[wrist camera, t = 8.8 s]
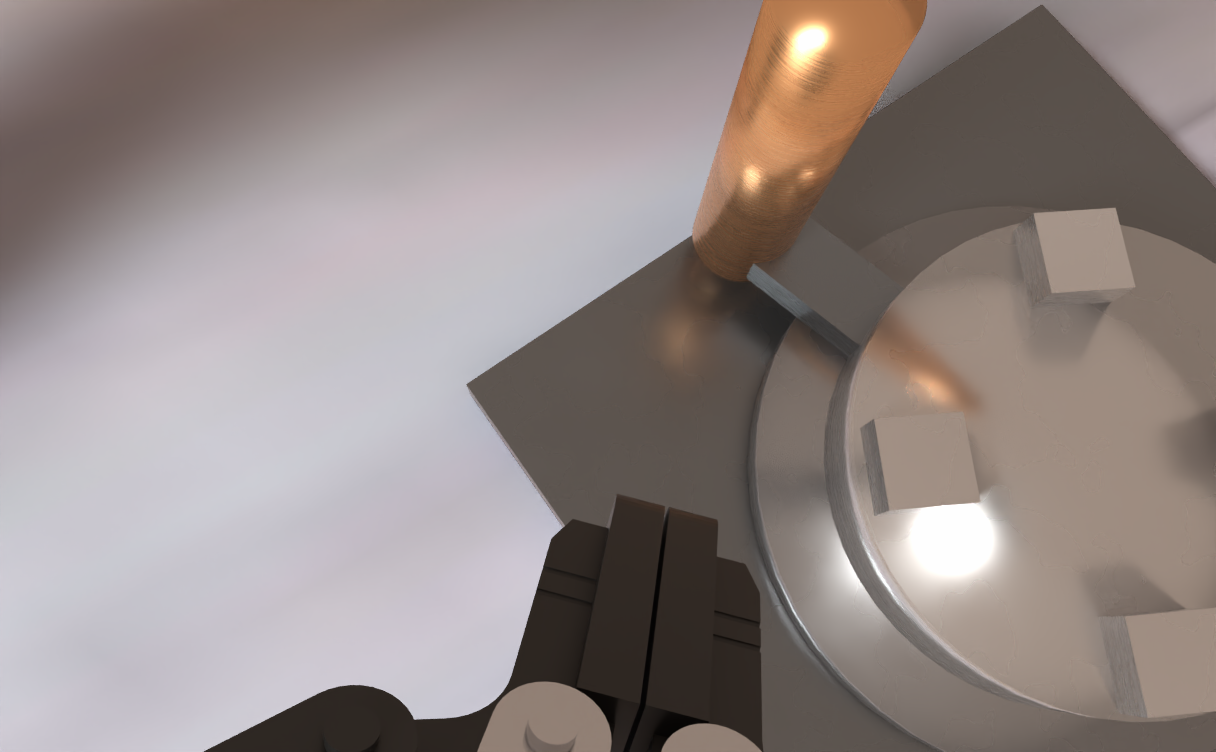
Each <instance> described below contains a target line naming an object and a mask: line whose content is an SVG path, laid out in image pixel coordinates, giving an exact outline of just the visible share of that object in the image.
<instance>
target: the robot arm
mask: <svg viewBox="0 0 1216 752" xmlns="http://www.w3.org/2000/svg"><path fill="white" fill-rule="evenodd" d="M664 515H665V516H664ZM717 541H718V520H717V519H713V518H709V517H706V516H702V515H698V514H694V513H690V512H686V511H683V510H679V509H675V508H671V507H668V509H667V511H666V513H665V506H663V505H659V504H655V503H651V502H647V501H644V500H640V499H636V498H632V497H628V496H624V495H621V494H616V496H615V500H614V503H613V506H612V510H611V513H610V517H609V520H608V524H607V527H602V526H598V525H594V524H591V523H587V522H583V521H579V520H575V519H572V520H571V521H570V522H569V523H568V524H567V525H565V526H564V527H563V528H562V529H561V530H560V531H559V532H558V533H557V534H556V535H555V536H554V537H553V538H552V539H551V542H550V546H549V549H548V552H547V556H546V559H545V563H544V566H543V570H542V573H541V576H540V580H539V583H538V587H537V590H536V594H535V597H534V600H533V604H532V607H531V611H530V614H529V618H528V621H527V624H526V628H525V631H524V635H523V638H522V642H521V645H520V648H519V652H518V655H517V659H516V662H515V666H514V669H513V673H512V676H511V678H510V681H509V683H508V685H507V686H506V688H505V690H504V691H503V692H502V693H501V695H500V696H499V697H498V698H497V699H496V700H495V701H493V702H492V703H491V704H489V705H488V706H486V707H485V708H483V709H481V710H479V711H477V712H474V713H472V714H469V715H465V716H461V717H456V718H446V719H420V720H414V719H413V716H412V715H411V713H410V712H409V710H408V709H407V707H406V706H405V705H404V704H403V703H402V702H401V701H400V700H398V699H397V698H396V697H394V696H393V695H391V694H389V693H387V692H385V691H383V690H380V689H377V688H374V687H369V686H362V685H348V686H340V687H336V688H332V689H328V690H326V691H323V692H321V693H319V694H317V695H315V696H313V697H311V698H309V699H307V700H305V701H303V702H301V703H299V704H297V705H295V706H293V707H291V708H289V709H287V710H285V711H283V712H281V713H279V714H277V715H275V716H273V717H271V718H269V719H267V720H265V721H263V722H261V723H259V724H257V725H255V726H253V727H251V728H249V729H247V730H245V731H243V732H241V733H239V734H238V735H236V736H234V737H232V738H230V739H228V740H226V741H224V742H222V743H220V744H218V745H216V746H214V747H212V748H210V749H208V750H206V751H204V752H764V751H763V742H762V683H761V652H760V648H761V628H759V627H760V623H761V616H760V592H759V590H758V588H757V586H756V584H755V582H754V580H753V578H752V576H751V574H750V572H749V570H748V568H747V566H746V564H744V563H740V562H736V561H733V560H729V559H725V558H721V557H717Z"/></svg>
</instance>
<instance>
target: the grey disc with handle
mask: <svg viewBox="0 0 1216 752" xmlns="http://www.w3.org/2000/svg"><path fill="white" fill-rule="evenodd" d="M926 9H927V0H763V3H762V7H761V10H760V13H759V16H758V19H757V23H756V26H755V29H754V32H753V35H752V39H751V42H750V45H749V48H748V51H747V55H746V58H745V61H744V64H743V68H742V71H741V74H740V77H739V80H738V84H737V87H736V90H735V93H734V96H733V100H732V103H731V106H730V109H729V113H728V116H727V119H726V122H725V125H724V129H723V132H722V135H721V138H720V141H719V145H718V148H717V151H716V154H715V158H714V161H713V164H712V167H711V170H710V174H709V177H708V180H707V183H706V186H705V190H704V193H703V196H702V199H701V202H700V206H699V209H698V212H697V215H696V219H695V222H694V226H693V233H692V236H693V244H694V248H695V251H696V253H697V255H698V257H699V258H700V260H701V261H702V263H703V264H704V265H705V266H706V267H707V268H708V269H709V270H710V271H711V272H713V273H714V274H716V275H718V276H720V277H721V278H724V279H727V280H730V281H734V282H752V283H754V284H755V285H756V286H757V287H759V288H760V289H761V290H763V291H764V292H765V293H766V294H768V295H769V296H770V297H772V298H773V299H774V300H775V301H777V302H778V303H779V304H780V305H782V306H783V307H784V308H786V309H787V310H788V311H789V312H791V313H792V314H793V315H795V316H796V317H797V318H798V319H800V320H801V321H802V322H804V323H805V324H806V325H807V326H809V327H810V328H811V329H813V330H814V331H815V332H816V333H818V334H819V335H820V336H822V337H823V338H824V339H825V340H827V341H828V342H829V343H830V344H832V345H833V346H834V347H836V348H837V349H838V350H839V351H841V352H842V353H843V354H845V355H846V356H847V359H846V361H845V363H844V365H843V367H842V369H841V371H840V373H839V376H838V379H837V382H836V385H835V388H834V391H833V394H832V397H831V400H830V405H829V410H828V415H827V421H826V426H825V439H824V469H825V481H826V490H827V495H828V499H829V504H830V509H831V513H832V518H833V521H834V524H835V527H836V529H837V532H838V535H839V538H840V541H841V544H842V547H843V549H844V551H845V553H846V555H847V557H848V559H849V561H850V563H851V565H852V567H853V569H854V571H855V573H856V575H857V577H858V579H859V580H860V582H861V583H862V585H863V586H864V588H865V589H866V591H867V592H868V594H869V596H870V597H871V599H872V600H873V602H874V603H875V605H876V606H877V607H878V608H879V609H880V611H881V612H882V613H883V614H884V615H885V616H886V618H887V619H888V620H889V621H890V622H891V624H892V625H893V626H894V627H895V628H896V630H898V631H899V632H900V633H901V634H902V635H903V636H904V637H905V638H906V639H907V640H908V641H909V642H910V643H911V644H913V645H914V646H915V647H916V648H917V649H918V650H919V651H920V652H921V653H923V654H924V655H925V656H927V657H928V658H929V659H931V660H932V661H934V662H935V663H936V664H938V665H939V666H940V667H942V668H943V669H945V670H946V671H947V672H949V673H951V674H953V675H954V676H956V677H958V678H960V679H962V680H963V681H965V682H967V683H969V684H971V685H972V686H974V687H976V688H978V689H981V690H983V691H986V692H988V693H991V694H993V695H996V696H998V697H1001V698H1004V699H1006V700H1009V701H1013V702H1017V703H1021V704H1025V705H1029V706H1033V707H1037V708H1042V709H1048V710H1053V711H1059V712H1064V713H1070V714H1076V715H1081V716H1087V717H1093V718H1099V719H1108V720H1117V721H1126V722H1158V721H1171V720H1177V719H1183V718H1188V717H1194V716H1200V715H1203V714H1206V713H1209V712H1213V711H1216V264H1214V263H1213V262H1211V261H1210V260H1208V259H1207V258H1205V257H1203V256H1202V255H1200V254H1198V253H1196V252H1194V251H1192V250H1190V249H1188V248H1186V247H1184V246H1182V245H1180V244H1178V243H1176V242H1174V241H1172V240H1169V239H1166V238H1163V237H1161V236H1158V235H1155V234H1152V233H1149V232H1147V231H1144V230H1141V229H1137V228H1132V227H1128V226H1124V225H1120V223H1119V219H1118V215H1117V212H1116V208H1104V209H1089V210H1073V211H1058V212H1042V213H1033V214H1032V215H1031V216H1030V217H1029V218H1027V219H1026V220H1025V221H1024V222H1023V223H1018V224H1015V225H1011V226H1007V227H1003V228H1000V229H996V230H992V231H990V232H988V233H985V234H983V235H980V236H978V237H976V238H973V239H971V240H968V241H966V242H964V243H963V244H961V245H959V246H958V247H956V248H954V249H952V250H951V251H949V252H947V253H946V254H944V255H942V256H941V257H940V258H938V259H937V260H936V261H935V262H933V263H932V264H931V265H930V266H928V267H927V268H926V269H925V270H923V271H922V272H921V273H920V274H919V275H918V276H917V277H916V278H915V279H914V280H913V281H912V282H911V283H910V284H909V285H908V286H907V287H906V288H905V289H904V288H903V287H901V286H900V285H899V284H898V283H896V282H895V281H894V280H892V279H891V278H890V277H888V276H887V275H886V274H884V273H883V272H882V271H880V270H879V269H878V268H876V267H875V266H874V265H872V264H871V263H870V262H869V261H867V260H866V259H865V258H863V257H862V256H861V255H859V254H858V253H857V252H855V251H854V250H853V249H851V248H850V247H849V246H847V245H846V244H845V243H843V242H842V241H841V240H840V239H838V238H837V237H836V236H834V235H833V234H832V233H830V232H829V231H828V230H826V229H825V228H824V227H822V226H821V225H820V224H818V223H817V222H816V221H815V220H813V219H812V218H811V217H810V215H811V213H812V212H813V210H814V208H815V206H816V205H817V203H818V201H819V200H820V198H821V196H822V195H823V193H824V191H825V189H826V188H827V186H828V184H829V183H830V181H831V179H832V178H833V176H834V174H835V172H836V171H837V169H838V167H839V166H840V164H841V162H842V161H843V159H844V157H845V155H846V154H847V152H848V150H849V149H850V147H851V145H852V144H853V142H854V140H855V139H856V137H857V135H858V133H859V132H860V130H861V128H862V127H863V125H864V123H865V122H866V120H867V118H868V116H869V115H870V113H871V111H872V110H873V108H874V106H875V105H876V103H877V101H878V99H879V98H880V96H881V94H882V93H883V91H884V89H885V88H886V86H887V84H888V82H889V81H890V79H891V77H892V76H893V74H894V72H895V71H896V69H897V67H898V66H899V64H900V62H901V60H902V59H903V57H904V55H905V54H906V52H907V50H908V49H909V47H910V45H911V43H912V42H913V40H914V38H915V37H916V35H917V33H918V32H919V30H920V28H921V26H922V24H923V21H924V18H925V15H926Z"/></svg>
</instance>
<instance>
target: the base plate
mask: <svg viewBox="0 0 1216 752" xmlns="http://www.w3.org/2000/svg"><path fill="white" fill-rule="evenodd" d="M1104 208H1116V212H1117V215H1118V219H1119V223H1120V225H1124V226H1128V227H1132V228H1137V229H1141V230H1144V231H1147V232H1149V233H1152V234H1155V235H1158V236H1161V237H1163V238H1166V239H1169V240H1172V241H1174V242H1176V243H1178V244H1180V245H1182V246H1184V247H1186V248H1188V249H1190V250H1192V251H1194V252H1196V253H1198V254H1200V255H1202V256H1203V257H1205V258H1207V259H1208V260H1210V261H1211V262H1213V263H1214V264H1216V188H1215V187H1214V186H1213V185H1212V184H1211V183H1210V182H1209V181H1208V180H1207V179H1206V178H1205V177H1204V176H1203V175H1202V174H1201V172H1200V171H1199V170H1198V169H1197V168H1196V167H1195V166H1194V165H1193V164H1192V163H1191V162H1190V161H1189V160H1188V159H1187V158H1186V157H1185V155H1184V154H1183V153H1182V152H1181V151H1180V150H1179V149H1178V148H1177V147H1176V146H1175V145H1174V144H1173V143H1172V142H1171V141H1170V140H1169V139H1168V137H1167V136H1166V135H1165V134H1164V133H1163V132H1162V131H1161V130H1160V129H1159V128H1158V127H1157V126H1156V125H1155V124H1154V123H1153V122H1152V121H1151V119H1150V118H1149V117H1148V116H1147V115H1146V114H1145V113H1144V112H1143V111H1142V110H1141V109H1140V108H1139V107H1138V106H1137V105H1136V104H1135V103H1134V101H1133V100H1132V99H1131V98H1130V97H1129V96H1128V95H1127V94H1126V93H1125V92H1124V91H1123V90H1122V89H1121V88H1120V87H1119V86H1118V84H1117V83H1116V82H1115V81H1114V80H1113V79H1112V78H1111V77H1110V76H1109V75H1108V74H1107V73H1106V72H1105V71H1104V70H1103V69H1102V68H1101V66H1100V65H1099V64H1098V63H1097V62H1096V61H1095V60H1094V59H1093V58H1092V57H1091V56H1090V55H1089V54H1088V53H1087V52H1086V51H1085V50H1084V48H1083V47H1082V46H1081V45H1080V44H1079V43H1078V42H1077V41H1076V40H1075V39H1074V38H1073V37H1072V36H1071V35H1070V34H1069V33H1068V32H1067V30H1066V29H1065V28H1064V27H1063V26H1062V25H1061V24H1060V23H1059V22H1058V21H1057V20H1056V19H1055V18H1054V17H1053V16H1052V15H1051V13H1050V12H1049V11H1048V10H1047V9H1046V8H1045V7H1044V6H1043V5H1040V6H1039V7H1037V8H1036V9H1034V10H1033V11H1031V12H1030V13H1028V14H1027V15H1025V16H1024V17H1022V18H1021V19H1019V20H1018V21H1016V22H1015V23H1013V24H1011V25H1010V26H1008V27H1007V28H1005V29H1004V30H1002V31H1001V32H999V33H998V34H996V35H995V36H993V37H992V38H990V39H989V40H987V41H986V42H984V43H983V44H981V45H980V46H978V47H977V48H975V49H974V50H972V51H971V52H969V53H968V54H966V55H965V56H963V57H961V58H960V59H958V60H957V61H955V62H954V63H952V64H951V65H949V66H948V67H946V68H945V69H943V70H942V71H940V72H939V73H937V74H936V75H934V76H933V77H931V78H930V79H928V80H927V81H925V82H924V83H922V84H921V85H919V86H918V87H916V88H915V89H913V90H911V91H910V92H908V93H907V94H905V95H904V96H902V97H901V98H899V99H898V100H896V101H895V102H893V103H892V104H890V105H889V106H887V107H886V108H884V109H883V110H881V111H880V112H878V113H877V114H875V115H874V116H872V117H871V118H869V119H868V120H866V122H865V123H864V125H863V127H862V128H861V130H860V132H859V133H858V135H857V137H856V139H855V140H854V142H853V144H852V145H851V147H850V149H849V150H848V152H847V154H846V155H845V157H844V159H843V161H842V162H841V164H840V166H839V167H838V169H837V171H836V172H835V174H834V176H833V178H832V179H831V181H830V183H829V184H828V186H827V188H826V189H825V191H824V193H823V195H822V196H821V198H820V200H819V201H818V203H817V205H816V206H815V208H814V210H813V212H812V213H811V215H810V217H811V218H812V219H813V220H815V221H816V222H817V223H818V224H820V225H821V226H822V227H824V228H825V229H826V230H828V231H829V232H830V233H832V234H833V235H834V236H836V237H837V238H838V239H840V240H841V241H842V242H843V243H845V244H846V245H847V246H849V247H850V248H851V249H853V250H854V251H855V252H857V253H858V254H859V255H861V256H862V257H863V258H865V259H866V260H867V261H869V262H870V263H871V264H872V265H874V266H875V267H876V268H878V269H879V270H880V271H882V272H883V273H884V274H886V275H887V276H888V277H890V278H891V279H892V280H894V281H895V282H896V283H898V284H899V285H900V286H901V287H903V288H904V289H905V288H906V287H907V286H908V285H909V284H910V283H911V282H912V281H913V280H914V279H915V278H916V277H917V276H918V275H919V274H920V273H921V272H922V271H923V270H925V269H926V268H927V267H928V266H930V265H931V264H932V263H933V262H935V261H936V260H937V259H938V258H940V257H941V256H942V255H944V254H946V253H947V252H949V251H951V250H952V249H954V248H956V247H958V246H959V245H961V244H963V243H964V242H966V241H968V240H971V239H973V238H976V237H978V236H980V235H983V234H985V233H988V232H990V231H992V230H996V229H1000V228H1003V227H1007V226H1011V225H1015V224H1018V223H1023V222H1024V221H1025V220H1026V219H1027V218H1029V217H1030V216H1031V215H1032V214H1033V213H1042V212H1058V211H1073V210H1089V209H1104ZM846 359H847V356H846V355H845V354H843V353H842V352H841V351H839V350H838V349H837V348H836V347H834V346H833V345H832V344H830V343H829V342H828V341H827V340H825V339H824V338H823V337H822V336H820V335H819V334H818V333H816V332H815V331H814V330H813V329H811V328H810V327H809V326H807V325H806V324H805V323H804V322H802V321H801V320H800V319H798V318H797V317H796V316H795V315H793V314H792V313H791V312H789V311H788V310H787V309H786V308H784V307H783V306H782V305H780V304H779V303H778V302H777V301H775V300H774V299H773V298H772V297H770V296H769V295H768V294H766V293H765V292H764V291H763V290H761V289H760V288H759V287H757V286H756V285H755V284H754V283H752V282H734V281H730V280H727V279H724V278H721V277H720V276H718V275H716V274H714V273H713V272H711V271H710V270H709V269H708V268H707V267H706V266H705V265H704V264H703V263H702V261H701V260H700V258H699V257H698V255H697V253H696V251H695V248H694V244H693V236H690V237H689V238H687V239H686V240H684V241H683V242H681V243H680V244H678V245H677V246H675V247H674V248H672V249H671V250H669V251H668V252H666V253H665V254H663V255H662V256H660V257H658V258H657V259H655V260H654V261H652V262H651V263H649V264H648V265H646V266H645V267H643V268H642V269H640V270H639V271H637V272H636V273H634V274H633V275H631V276H630V277H628V278H627V279H625V280H624V281H622V282H621V283H619V284H618V285H616V286H615V287H613V288H612V289H610V290H609V291H607V292H605V293H604V294H602V295H601V296H599V297H598V298H596V299H595V300H593V301H592V302H590V303H589V304H587V305H586V306H584V307H583V308H581V309H580V310H578V311H577V312H575V313H574V314H572V315H571V316H569V317H568V318H566V319H565V320H563V321H562V322H560V323H559V324H557V325H555V326H554V327H552V328H551V329H549V330H548V331H546V332H545V333H543V334H542V335H540V336H539V337H537V338H536V339H534V340H533V341H531V342H530V343H528V344H527V345H525V346H524V347H522V348H521V349H519V350H518V351H516V352H515V353H513V354H512V355H510V356H509V357H507V358H505V359H504V360H502V361H501V362H499V363H498V364H496V365H495V366H493V367H492V368H490V369H489V370H487V371H486V372H484V373H483V374H481V375H480V376H478V377H477V378H475V379H474V380H472V381H471V382H469V383H468V384H466V385H467V387H468V389H469V392H470V394H471V396H472V398H473V399H474V400H475V402H476V403H477V405H478V406H479V408H480V409H481V410H482V412H483V413H484V415H485V416H486V418H487V419H488V421H489V422H490V423H491V425H492V426H493V428H494V429H495V431H496V432H497V433H498V435H499V436H500V438H501V439H502V441H503V442H504V443H505V445H506V446H507V448H508V449H509V451H510V452H511V454H512V455H513V456H514V458H515V459H516V461H517V462H518V464H519V465H520V466H521V468H522V469H523V471H524V472H525V474H526V475H527V476H528V478H529V479H530V481H531V482H532V484H533V485H534V487H535V488H536V489H537V491H538V492H539V494H540V495H541V497H542V498H543V499H544V501H545V502H546V504H547V505H548V507H549V508H550V510H551V511H552V512H553V514H554V515H555V517H556V518H557V520H558V521H559V522H560V524H561V525H562V527H564V526H565V525H567V524H568V523H569V522H570V521H571V520H572V519H575V520H579V521H583V522H587V523H591V524H594V525H598V526H602V527H607V524H608V520H609V517H610V513H611V510H612V506H613V503H614V500H615V496H616V494H621V495H624V496H628V497H632V498H636V499H640V500H644V501H647V502H651V503H655V504H659V505H663V506H665V513H666V511H667V509H668V507H671V508H675V509H679V510H683V511H686V512H690V513H694V514H698V515H702V516H706V517H709V518H713V519H717V520H718V541H717V557H721V558H725V559H729V560H733V561H736V562H740V563H744V564H746V566H747V568H748V570H749V572H750V574H751V576H752V578H753V580H754V582H755V584H756V586H757V588H758V590H759V592H760V616H761V623H760V627H759V628H761V648H760V652H761V683H762V742H763V751H764V752H1216V711H1213V712H1209V713H1206V714H1203V715H1200V716H1194V717H1188V718H1183V719H1177V720H1171V721H1158V722H1126V721H1117V720H1108V719H1099V718H1093V717H1087V716H1081V715H1076V714H1070V713H1064V712H1059V711H1053V710H1048V709H1042V708H1037V707H1033V706H1029V705H1025V704H1021V703H1017V702H1013V701H1009V700H1006V699H1004V698H1001V697H998V696H996V695H993V694H991V693H988V692H986V691H983V690H981V689H978V688H976V687H974V686H972V685H971V684H969V683H967V682H965V681H963V680H962V679H960V678H958V677H956V676H954V675H953V674H951V673H949V672H947V671H946V670H945V669H943V668H942V667H940V666H939V665H938V664H936V663H935V662H934V661H932V660H931V659H929V658H928V657H927V656H925V655H924V654H923V653H921V652H920V651H919V650H918V649H917V648H916V647H915V646H914V645H913V644H911V643H910V642H909V641H908V640H907V639H906V638H905V637H904V636H903V635H902V634H901V633H900V632H899V631H898V630H896V628H895V627H894V626H893V625H892V624H891V622H890V621H889V620H888V619H887V618H886V616H885V615H884V614H883V613H882V612H881V611H880V609H879V608H878V607H877V606H876V605H875V603H874V602H873V600H872V599H871V597H870V596H869V594H868V592H867V591H866V589H865V588H864V586H863V585H862V583H861V582H860V580H859V579H858V577H857V575H856V573H855V571H854V569H853V567H852V565H851V563H850V561H849V559H848V557H847V555H846V553H845V551H844V549H843V547H842V544H841V541H840V538H839V535H838V532H837V529H836V527H835V524H834V521H833V518H832V513H831V509H830V504H829V499H828V495H827V490H826V481H825V469H824V439H825V426H826V421H827V415H828V410H829V405H830V400H831V397H832V394H833V391H834V388H835V385H836V382H837V379H838V376H839V373H840V371H841V369H842V367H843V365H844V363H845V361H846ZM664 516H665V515H664Z"/></svg>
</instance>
